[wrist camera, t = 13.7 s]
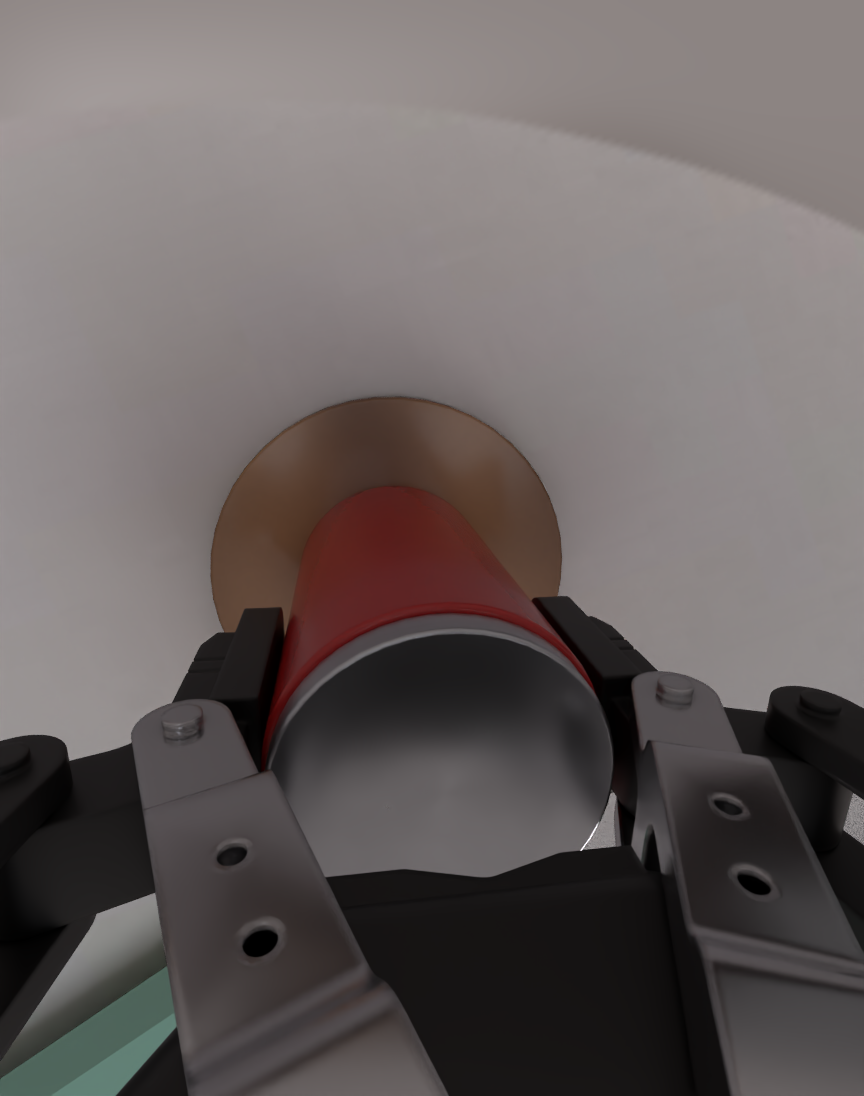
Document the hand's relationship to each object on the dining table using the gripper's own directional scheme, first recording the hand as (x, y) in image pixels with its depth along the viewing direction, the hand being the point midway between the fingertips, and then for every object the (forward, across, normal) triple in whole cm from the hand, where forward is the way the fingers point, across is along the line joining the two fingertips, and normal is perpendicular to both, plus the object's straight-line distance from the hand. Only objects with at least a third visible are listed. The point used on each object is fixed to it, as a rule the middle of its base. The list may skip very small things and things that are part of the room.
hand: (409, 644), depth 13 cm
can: (+4, 0, 0) cm, 4 cm away
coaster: (+5, 0, 0) cm, 5 cm away
